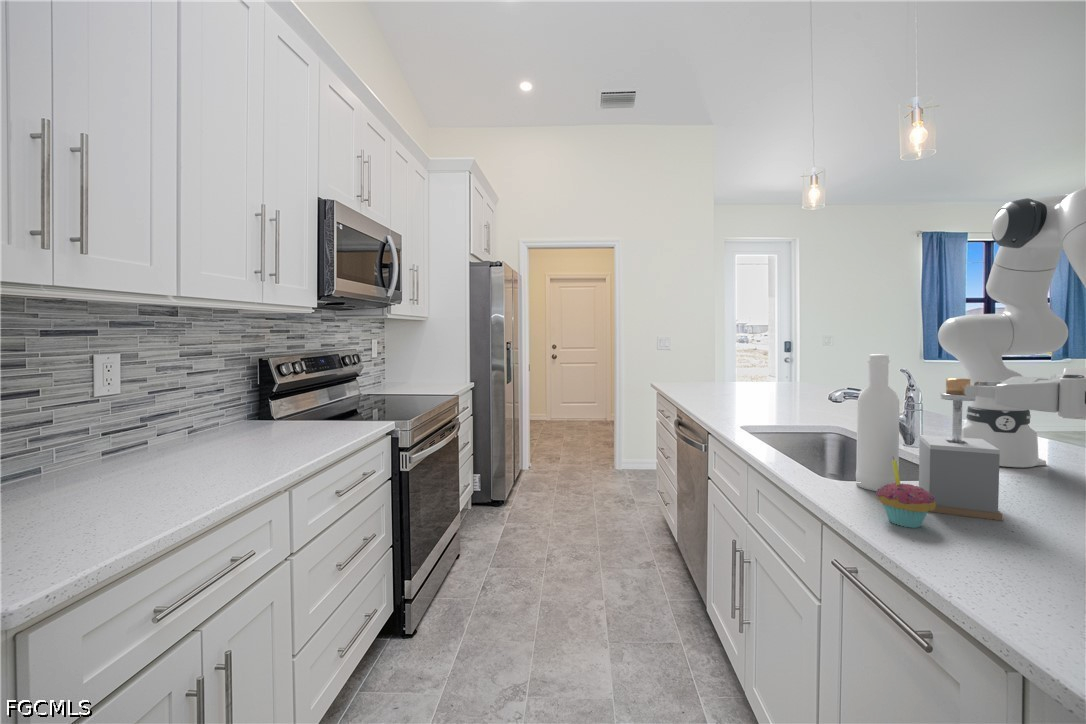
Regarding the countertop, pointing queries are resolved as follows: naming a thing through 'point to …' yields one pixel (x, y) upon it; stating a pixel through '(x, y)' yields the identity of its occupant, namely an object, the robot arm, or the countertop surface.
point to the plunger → (957, 403)
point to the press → (960, 476)
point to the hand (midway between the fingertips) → (970, 387)
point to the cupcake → (905, 502)
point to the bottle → (877, 428)
